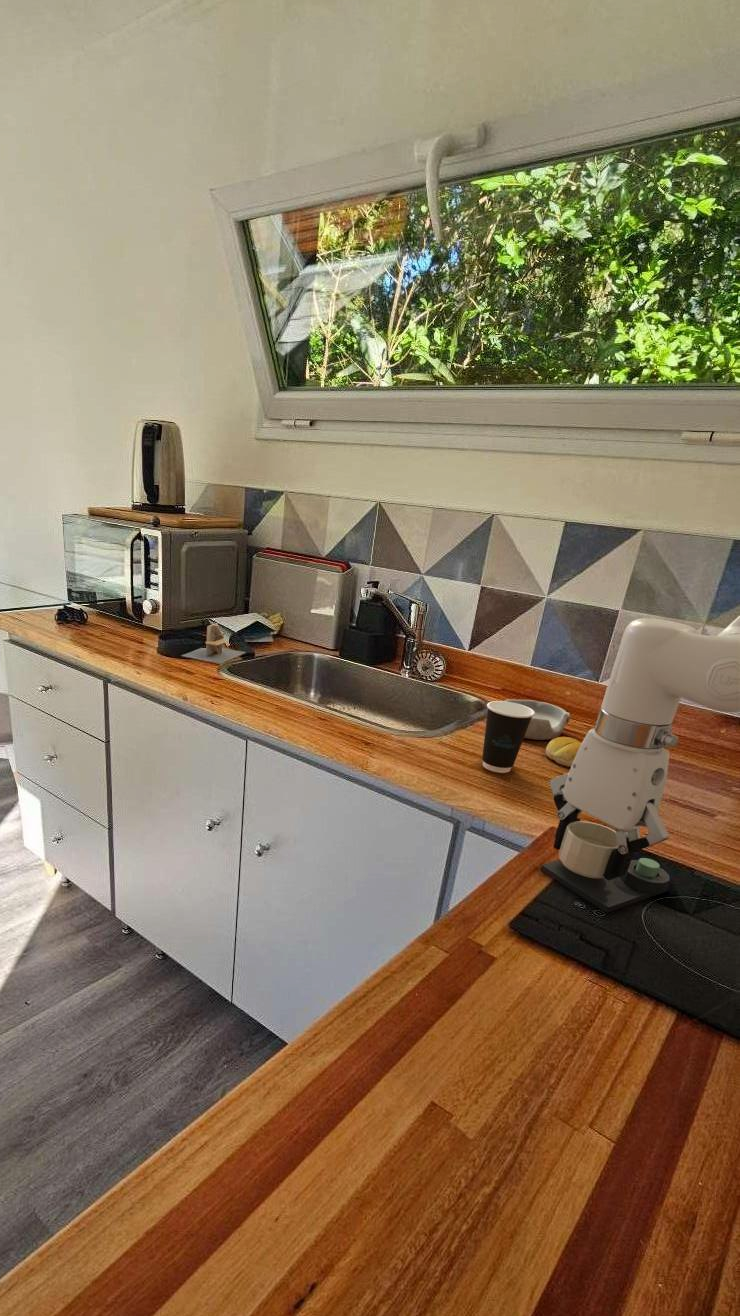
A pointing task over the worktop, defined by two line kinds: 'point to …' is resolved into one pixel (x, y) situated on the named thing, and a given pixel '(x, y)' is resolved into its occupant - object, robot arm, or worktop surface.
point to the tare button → (647, 867)
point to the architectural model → (214, 648)
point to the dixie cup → (504, 734)
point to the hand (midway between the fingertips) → (587, 860)
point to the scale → (609, 885)
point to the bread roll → (563, 750)
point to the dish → (544, 720)
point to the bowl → (587, 848)
